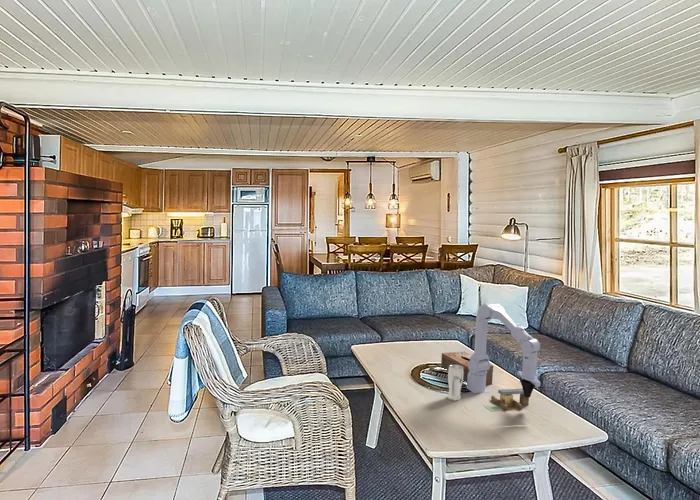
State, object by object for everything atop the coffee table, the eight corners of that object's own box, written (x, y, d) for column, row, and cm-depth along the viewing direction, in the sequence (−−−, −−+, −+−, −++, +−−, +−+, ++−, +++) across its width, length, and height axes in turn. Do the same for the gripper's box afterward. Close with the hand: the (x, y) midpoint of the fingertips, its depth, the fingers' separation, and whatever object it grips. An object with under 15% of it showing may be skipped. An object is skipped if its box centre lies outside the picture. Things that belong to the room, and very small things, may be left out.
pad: (483, 406, 214) (483, 405, 214) (496, 406, 216) (496, 404, 216) (490, 412, 208) (490, 411, 208) (503, 411, 210) (503, 410, 210)
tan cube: (499, 403, 218) (500, 392, 218) (507, 402, 219) (508, 392, 219) (504, 406, 214) (505, 395, 214) (512, 406, 215) (513, 395, 215)
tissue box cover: (492, 384, 245) (493, 365, 244) (467, 387, 240) (469, 367, 239) (463, 369, 269) (464, 351, 268) (440, 370, 264) (441, 352, 263)
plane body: (490, 401, 222) (490, 388, 221) (519, 399, 225) (519, 387, 225) (504, 411, 210) (505, 398, 210) (534, 409, 213) (535, 397, 213)
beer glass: (451, 401, 219) (452, 369, 218) (444, 396, 225) (445, 364, 224) (464, 400, 220) (466, 368, 219) (457, 395, 227) (459, 364, 226)
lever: (498, 392, 217) (498, 389, 217) (525, 391, 220) (525, 388, 220) (501, 394, 214) (501, 392, 214) (529, 393, 217) (529, 390, 217)
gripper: (547, 371, 204) (545, 402, 205) (527, 361, 219) (525, 390, 219) (533, 372, 203) (530, 403, 204) (513, 361, 217) (511, 391, 218)
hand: (527, 396), depth 212 cm, fingers closed
